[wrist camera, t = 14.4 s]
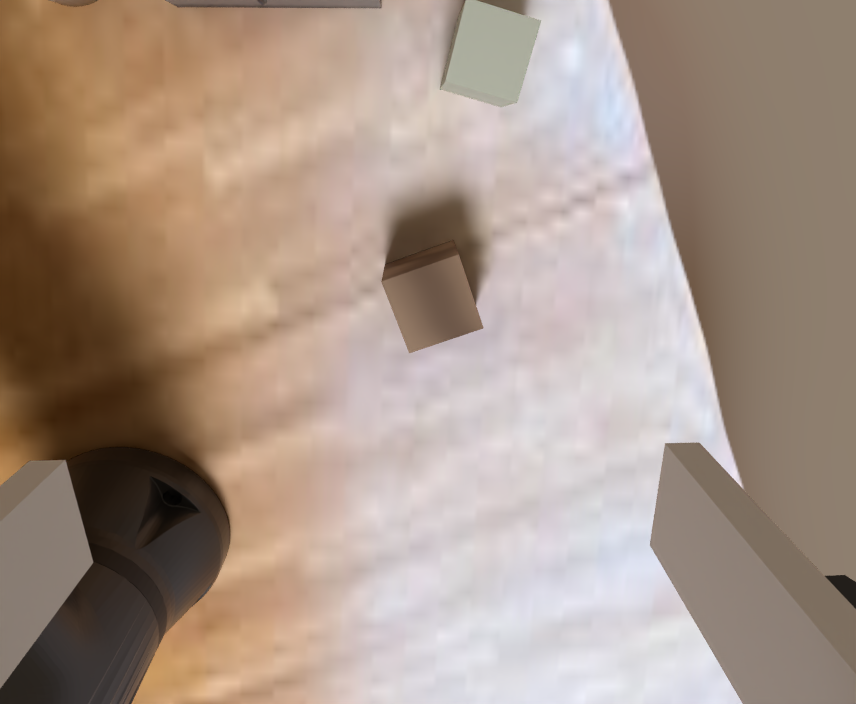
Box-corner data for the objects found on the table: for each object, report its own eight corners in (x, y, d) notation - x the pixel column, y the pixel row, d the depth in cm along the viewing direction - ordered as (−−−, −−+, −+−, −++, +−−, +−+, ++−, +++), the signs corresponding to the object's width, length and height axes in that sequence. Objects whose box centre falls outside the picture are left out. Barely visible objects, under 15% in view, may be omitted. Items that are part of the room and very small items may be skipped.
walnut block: (409, 328, 42) (409, 353, 37) (385, 264, 40) (381, 281, 35) (475, 306, 41) (483, 328, 37) (453, 239, 39) (458, 254, 35)
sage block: (440, 89, 36) (445, 81, 30) (457, 19, 35) (466, -3, 29) (500, 107, 37) (517, 102, 31) (520, 38, 35) (541, 20, 30)
